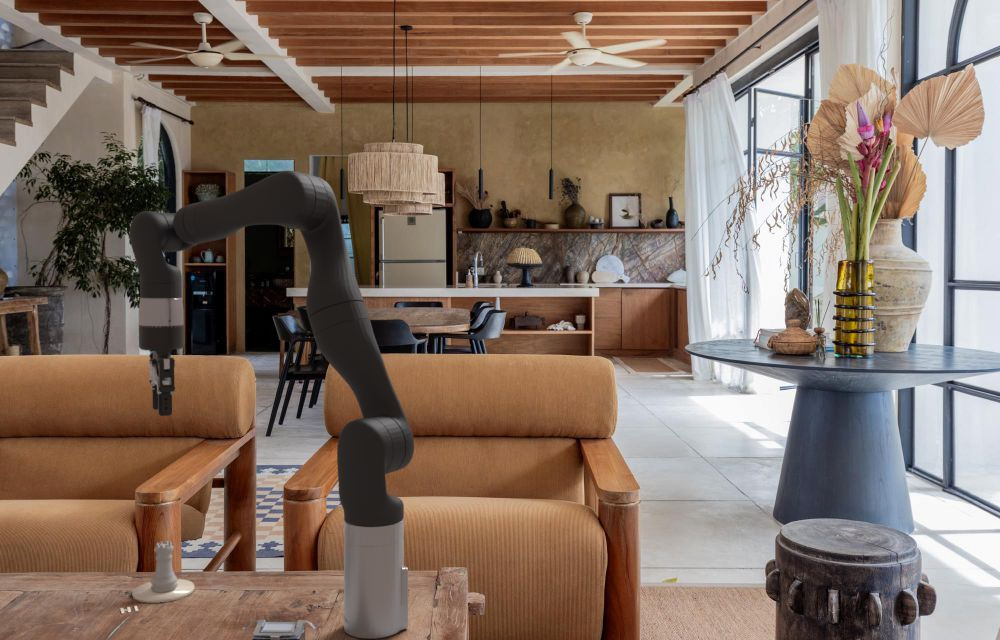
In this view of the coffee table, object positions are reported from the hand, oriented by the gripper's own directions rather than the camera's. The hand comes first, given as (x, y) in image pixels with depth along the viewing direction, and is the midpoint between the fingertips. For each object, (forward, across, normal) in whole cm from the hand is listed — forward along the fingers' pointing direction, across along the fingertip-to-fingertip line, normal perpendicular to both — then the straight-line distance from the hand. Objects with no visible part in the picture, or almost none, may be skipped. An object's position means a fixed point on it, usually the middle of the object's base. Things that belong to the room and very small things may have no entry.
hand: (162, 412), depth 156 cm
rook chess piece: (+30, -9, +1) cm, 31 cm away
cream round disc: (+30, -9, +1) cm, 31 cm away
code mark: (+30, -15, +7) cm, 34 cm away
